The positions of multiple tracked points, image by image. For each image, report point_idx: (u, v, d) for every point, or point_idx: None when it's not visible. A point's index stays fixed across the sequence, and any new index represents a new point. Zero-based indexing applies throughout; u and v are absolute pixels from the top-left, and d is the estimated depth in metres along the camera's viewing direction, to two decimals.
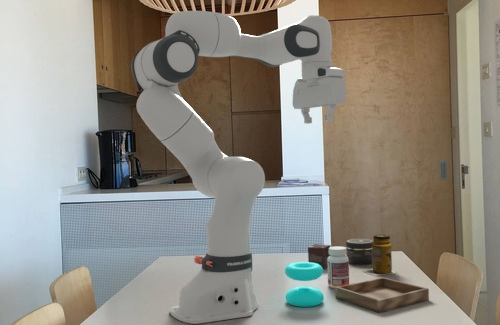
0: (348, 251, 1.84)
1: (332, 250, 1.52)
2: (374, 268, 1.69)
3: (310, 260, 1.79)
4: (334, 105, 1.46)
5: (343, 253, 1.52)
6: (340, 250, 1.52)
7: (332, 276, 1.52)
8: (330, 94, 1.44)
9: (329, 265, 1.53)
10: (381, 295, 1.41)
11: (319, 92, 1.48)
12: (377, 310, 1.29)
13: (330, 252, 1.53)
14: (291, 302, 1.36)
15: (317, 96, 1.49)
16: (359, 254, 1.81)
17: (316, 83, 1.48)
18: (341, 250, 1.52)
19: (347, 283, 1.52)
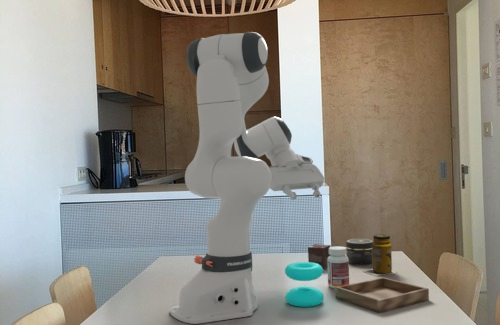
0: (348, 251, 1.84)
1: (332, 250, 1.52)
2: (374, 268, 1.69)
3: (310, 260, 1.79)
4: None
5: (343, 253, 1.52)
6: (340, 250, 1.52)
7: (332, 276, 1.52)
8: (317, 175, 1.73)
9: (329, 265, 1.53)
10: (381, 295, 1.41)
11: (304, 173, 1.71)
12: (377, 310, 1.29)
13: (330, 252, 1.53)
14: (291, 302, 1.36)
15: (303, 176, 1.70)
16: (359, 254, 1.81)
17: (299, 167, 1.72)
18: (341, 250, 1.52)
19: (347, 283, 1.52)
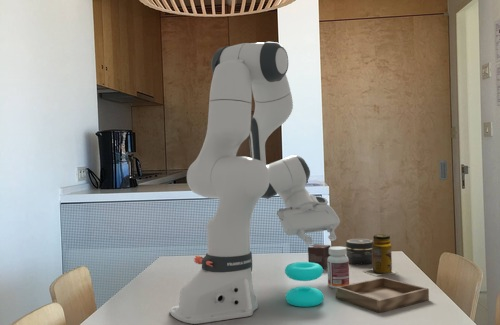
0: (348, 251, 1.84)
1: (332, 250, 1.52)
2: (374, 268, 1.69)
3: (310, 260, 1.79)
4: None
5: (343, 253, 1.52)
6: (340, 250, 1.52)
7: (332, 276, 1.52)
8: (332, 217, 1.67)
9: (329, 265, 1.53)
10: (381, 295, 1.41)
11: (319, 215, 1.65)
12: (377, 310, 1.29)
13: (330, 252, 1.53)
14: (291, 302, 1.36)
15: (318, 218, 1.64)
16: (359, 254, 1.81)
17: (314, 208, 1.66)
18: (341, 250, 1.52)
19: (347, 283, 1.52)
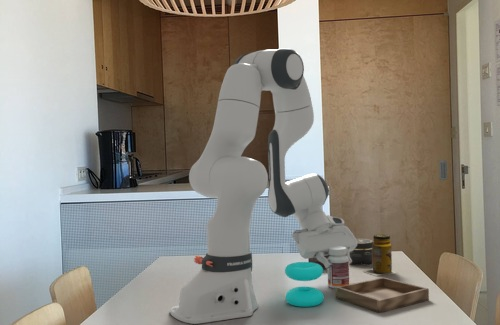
0: None
1: (332, 250, 1.52)
2: (374, 268, 1.69)
3: (310, 260, 1.79)
4: None
5: (343, 253, 1.52)
6: (340, 250, 1.52)
7: (332, 276, 1.52)
8: (350, 238, 1.61)
9: None
10: (381, 295, 1.41)
11: (336, 237, 1.59)
12: (377, 310, 1.29)
13: (330, 252, 1.53)
14: (291, 302, 1.36)
15: (335, 240, 1.58)
16: (359, 254, 1.81)
17: (330, 230, 1.60)
18: (341, 250, 1.52)
19: (347, 283, 1.52)
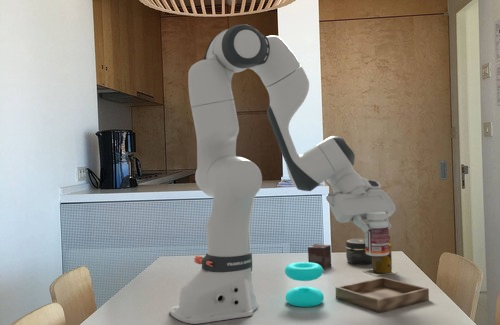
0: (348, 251, 1.84)
1: (370, 214, 1.39)
2: (374, 268, 1.69)
3: (310, 260, 1.79)
4: None
5: (383, 217, 1.39)
6: (380, 214, 1.38)
7: (371, 243, 1.39)
8: (387, 203, 1.47)
9: None
10: (381, 295, 1.41)
11: (373, 201, 1.46)
12: (377, 310, 1.29)
13: (368, 217, 1.40)
14: (291, 302, 1.36)
15: (373, 204, 1.44)
16: (359, 254, 1.81)
17: (367, 193, 1.46)
18: (381, 214, 1.38)
19: (387, 250, 1.39)
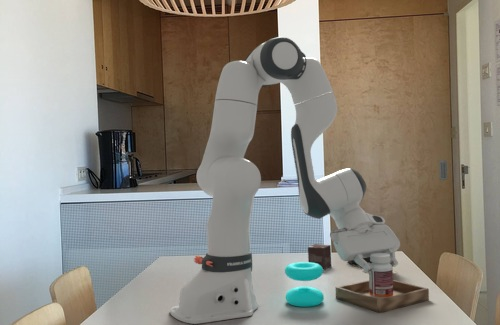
0: None
1: (374, 257, 1.38)
2: None
3: (310, 260, 1.79)
4: None
5: (387, 260, 1.38)
6: (384, 257, 1.37)
7: (375, 286, 1.38)
8: (392, 239, 1.46)
9: (371, 274, 1.38)
10: None
11: (377, 237, 1.45)
12: (377, 310, 1.29)
13: (372, 259, 1.39)
14: (291, 302, 1.36)
15: (377, 241, 1.43)
16: None
17: (371, 229, 1.45)
18: (385, 257, 1.37)
19: (391, 294, 1.38)
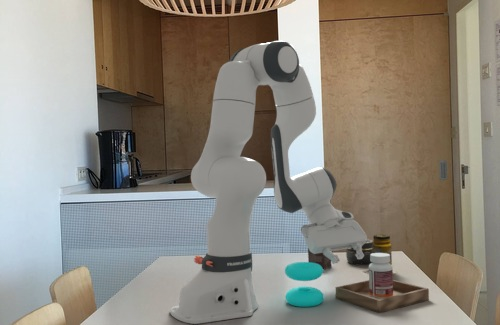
0: (348, 251, 1.84)
1: (374, 257, 1.38)
2: None
3: (310, 260, 1.79)
4: None
5: (387, 260, 1.38)
6: (384, 257, 1.37)
7: (375, 286, 1.38)
8: (359, 233, 1.57)
9: (371, 274, 1.39)
10: None
11: (345, 232, 1.55)
12: (377, 310, 1.29)
13: (372, 259, 1.39)
14: (291, 302, 1.36)
15: (345, 235, 1.54)
16: None
17: (340, 224, 1.56)
18: (385, 257, 1.37)
19: (391, 294, 1.38)
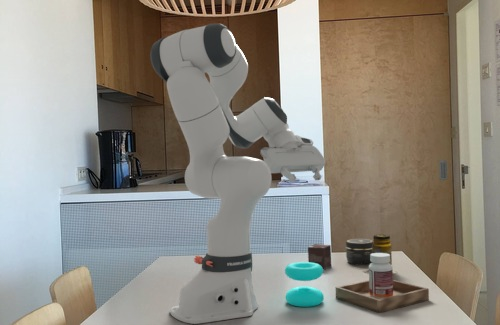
0: (348, 251, 1.84)
1: (374, 257, 1.38)
2: None
3: (310, 260, 1.79)
4: None
5: (387, 260, 1.38)
6: (384, 257, 1.37)
7: (375, 286, 1.38)
8: (318, 157, 1.63)
9: (371, 274, 1.38)
10: None
11: (304, 155, 1.61)
12: (377, 310, 1.29)
13: (372, 259, 1.39)
14: (291, 302, 1.36)
15: (303, 158, 1.60)
16: (359, 254, 1.81)
17: (299, 148, 1.62)
18: (385, 257, 1.37)
19: (391, 294, 1.38)
